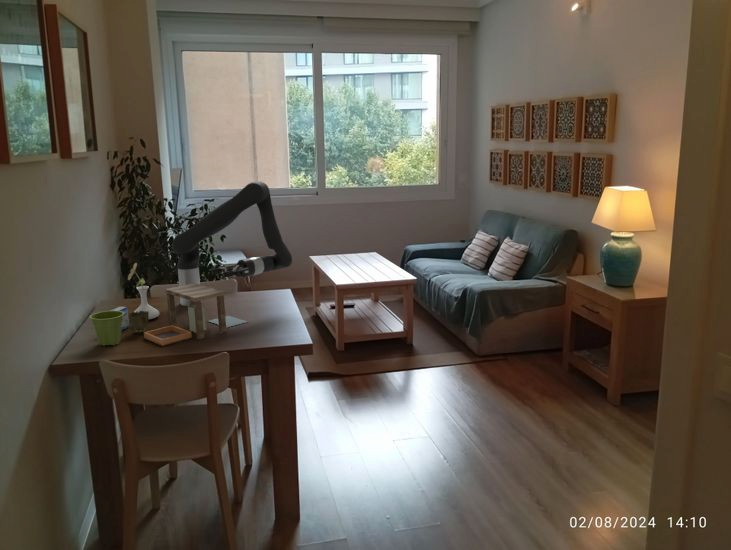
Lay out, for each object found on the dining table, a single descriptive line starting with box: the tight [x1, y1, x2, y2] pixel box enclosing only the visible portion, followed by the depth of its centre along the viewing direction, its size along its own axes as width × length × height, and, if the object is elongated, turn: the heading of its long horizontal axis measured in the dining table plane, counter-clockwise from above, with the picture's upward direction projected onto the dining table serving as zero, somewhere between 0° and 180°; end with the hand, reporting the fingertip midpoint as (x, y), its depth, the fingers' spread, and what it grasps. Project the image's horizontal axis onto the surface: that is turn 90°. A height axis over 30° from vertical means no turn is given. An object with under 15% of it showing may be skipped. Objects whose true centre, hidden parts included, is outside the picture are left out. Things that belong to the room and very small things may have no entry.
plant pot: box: [89, 310, 124, 346], centre depth 224 cm, size 12×12×11 cm
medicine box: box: [109, 306, 130, 331], centre depth 241 cm, size 8×4×9 cm, turn 168°
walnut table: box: [164, 283, 227, 340], centre depth 237 cm, size 22×13×16 cm, turn 47°
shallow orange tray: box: [143, 325, 193, 347], centre depth 229 cm, size 14×12×2 cm
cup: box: [128, 311, 149, 334], centre depth 237 cm, size 8×7×8 cm
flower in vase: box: [126, 262, 160, 321], centre depth 253 cm, size 13×11×25 cm
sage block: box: [187, 305, 207, 333], centre depth 237 cm, size 4×4×10 cm
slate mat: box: [207, 315, 248, 329], centre depth 248 cm, size 14×10×1 cm
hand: (217, 273), depth 242 cm, fingers open, 8 cm apart
